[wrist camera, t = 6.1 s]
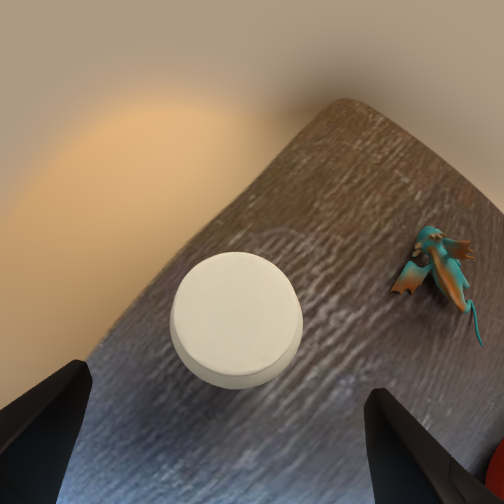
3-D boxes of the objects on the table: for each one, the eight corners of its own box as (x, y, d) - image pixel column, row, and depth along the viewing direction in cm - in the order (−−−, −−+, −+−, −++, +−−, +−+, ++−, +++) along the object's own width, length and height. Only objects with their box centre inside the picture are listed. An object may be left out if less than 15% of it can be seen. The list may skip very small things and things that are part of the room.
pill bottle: (175, 329, 19) (117, 297, 10) (241, 275, 20) (243, 200, 11) (232, 397, 17) (225, 432, 8) (299, 340, 19) (353, 318, 10)
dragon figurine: (496, 252, 20) (451, 193, 18) (519, 329, 15) (481, 277, 13) (438, 288, 25) (384, 241, 23) (447, 362, 20) (389, 325, 18)
